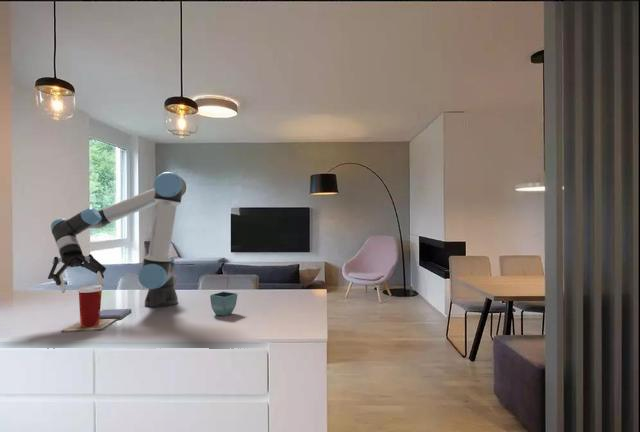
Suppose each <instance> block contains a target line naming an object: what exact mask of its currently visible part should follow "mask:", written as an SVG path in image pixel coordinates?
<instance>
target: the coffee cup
mask: <svg viewBox="0 0 640 432" xmlns="http://www.w3.org/2000/svg"><path fill="white" fill-rule="evenodd" d="M103 290H104V288H103V287H102V286H100V285H99V284H93V285H92V284H91V285H84V286H81V287H79V288H78V290H77V292H78V300H79V301H78V305H79V321H80V323H81V327H92V326H96V325H98V324H99V318H100V311H101V305H102V292H103Z"/></svg>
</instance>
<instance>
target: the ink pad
mask: <svg viewBox="0 0 640 432" xmlns="http://www.w3.org/2000/svg"><path fill="white" fill-rule="evenodd" d="M130 313H132V308H117V309H102V310H100V318H99V320H102V319H118V320H122V319H123V318H125V317H126V316H128V315H129V314H130Z"/></svg>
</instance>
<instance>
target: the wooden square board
mask: <svg viewBox="0 0 640 432" xmlns="http://www.w3.org/2000/svg"><path fill="white" fill-rule="evenodd" d="M118 320H119V319H102V320H99V324H98V325H96V326H92V327H81V323H80V320H78V321H77V322H75V323H74V324H71V325H70V326H67V327H66V328H65V329H63V330H61V333H70V332H71V333H72V332H92V331H95V332H96V331H103V330H105V329H107V328H108V327H110V326H111V325H113V323H115V322H117V321H118Z"/></svg>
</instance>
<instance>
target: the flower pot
mask: <svg viewBox="0 0 640 432" xmlns="http://www.w3.org/2000/svg"><path fill="white" fill-rule="evenodd" d="M209 297H210V305H211V309H212V311H213V313H214V314H215V315H217V316H222V317H225V316H227V315H231V314H232V313H233V312H234V310H235V308H236V306H237V300H238V293H236V292H235V293H234V292H229V291H221V292H220V291H219V292H216V293H213V294H209Z"/></svg>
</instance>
